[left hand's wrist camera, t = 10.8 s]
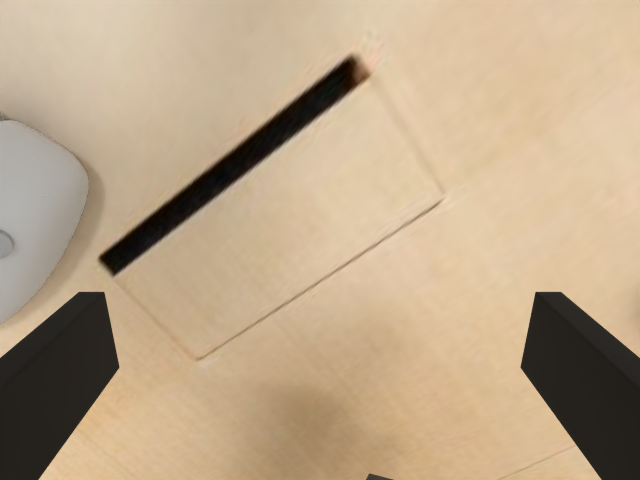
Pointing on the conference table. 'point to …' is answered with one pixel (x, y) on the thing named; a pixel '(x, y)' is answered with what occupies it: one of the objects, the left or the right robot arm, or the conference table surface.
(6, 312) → the projector
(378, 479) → the bar
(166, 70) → the conference table surface
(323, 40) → the conference table surface
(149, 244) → the conference table surface
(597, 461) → the left robot arm
